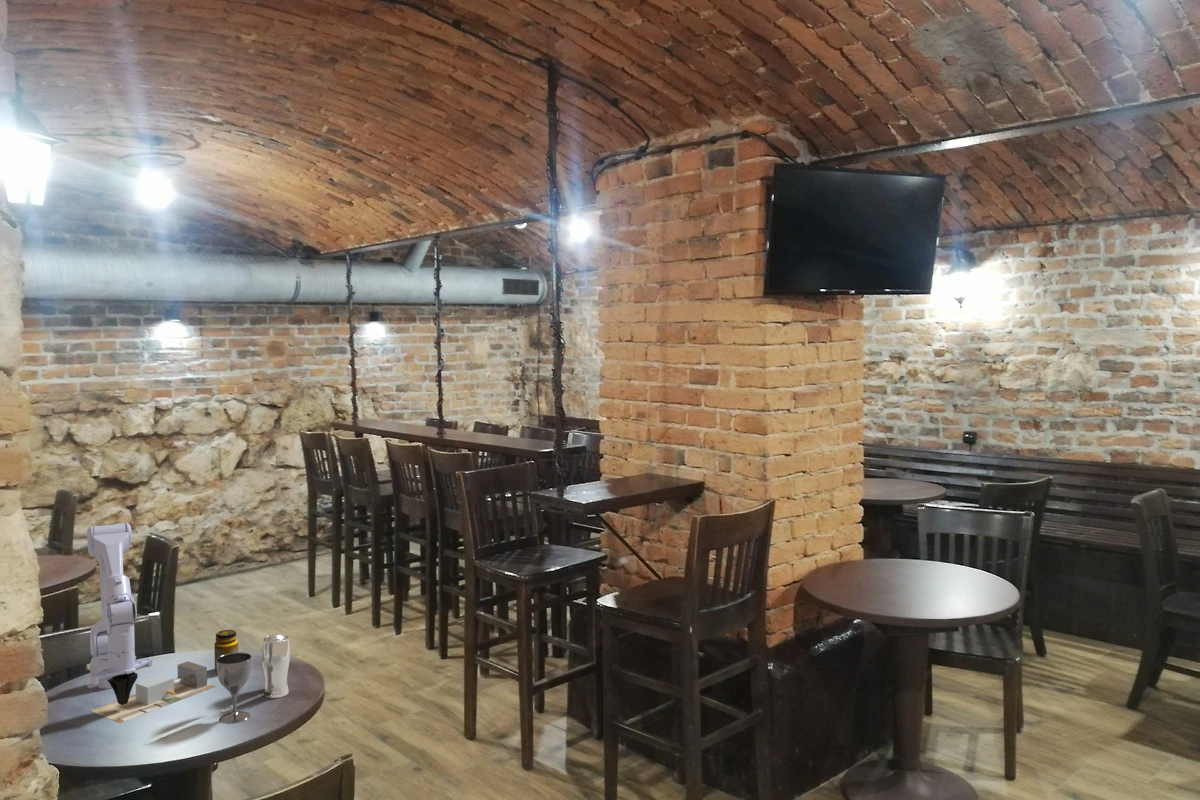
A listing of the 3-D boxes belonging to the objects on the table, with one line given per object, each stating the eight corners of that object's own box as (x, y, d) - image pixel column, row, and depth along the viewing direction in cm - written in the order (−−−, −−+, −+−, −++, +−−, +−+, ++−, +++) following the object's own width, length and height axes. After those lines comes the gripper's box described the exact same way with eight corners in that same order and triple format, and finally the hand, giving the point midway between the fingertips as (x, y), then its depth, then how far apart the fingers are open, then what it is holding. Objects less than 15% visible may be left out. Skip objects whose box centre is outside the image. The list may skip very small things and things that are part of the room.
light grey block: (136, 700, 221) (135, 683, 220) (176, 686, 230) (175, 669, 230) (153, 707, 217) (153, 689, 217) (193, 692, 226) (193, 675, 226)
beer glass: (281, 700, 225) (280, 643, 224) (256, 697, 226) (256, 641, 225) (295, 689, 232) (295, 634, 231) (272, 687, 233) (271, 632, 232)
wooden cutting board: (89, 715, 215) (89, 709, 214) (185, 680, 237) (185, 675, 237) (120, 727, 208) (120, 721, 208) (216, 690, 231) (216, 685, 230)
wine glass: (248, 723, 211) (247, 663, 210) (213, 725, 210) (212, 664, 209) (255, 709, 219) (254, 651, 218) (222, 711, 218) (221, 652, 217)
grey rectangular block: (177, 683, 232) (177, 664, 232) (188, 679, 235) (187, 661, 235) (196, 689, 228) (196, 670, 228) (206, 685, 231) (206, 667, 231)
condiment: (243, 674, 242) (243, 632, 241) (212, 682, 236) (211, 639, 235) (233, 667, 247) (232, 626, 246) (202, 675, 241) (201, 633, 240)
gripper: (101, 662, 206) (103, 717, 207) (159, 644, 218) (160, 696, 219) (84, 656, 209) (86, 711, 210) (142, 638, 222) (143, 690, 223)
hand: (122, 703), depth 215 cm, fingers closed
